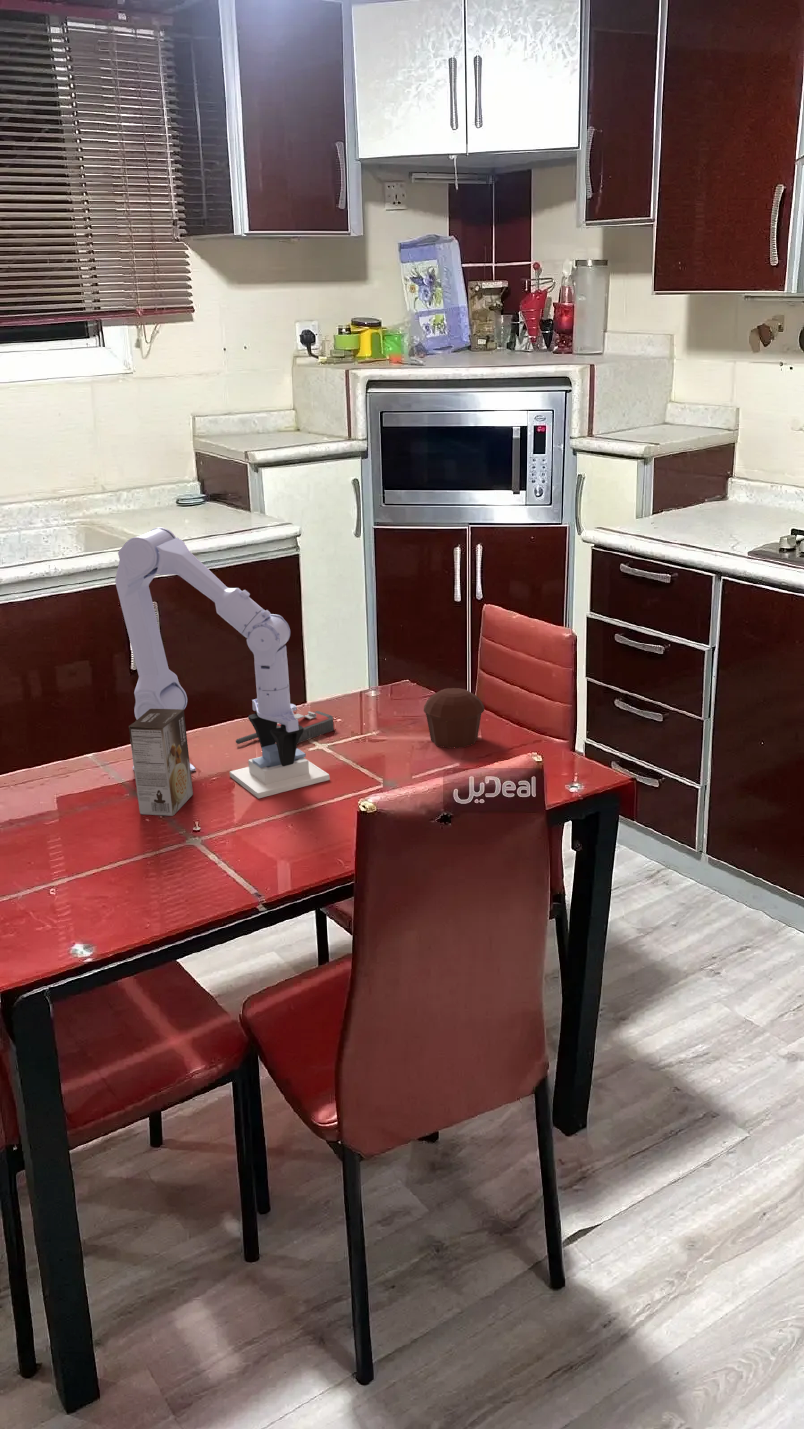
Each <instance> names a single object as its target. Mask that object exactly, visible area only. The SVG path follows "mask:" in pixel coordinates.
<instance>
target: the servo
mask: <svg viewBox="0 0 804 1429" xmlns="http://www.w3.org/2000/svg"><path fill="white" fill-rule="evenodd" d="M261 753H262V754H261V756H262V757H261V756H259V757H260V758H257V757H255V758H256V759H253V758H251V759H252V762H253V763H254V764H255V765H257V766H258V767H259V768H262V767H267V768H269V767H273V766H277V765H281V762H280V759H279V753H278V748H277V745H276V744H273V745H269V746H265V747H262V748H261ZM303 757H304V758H306V757H307V756H306V752H303V751H302V750H301V749H299V748H298V747H297V748H296V753H295V759H294V761H296V759H299V758H303Z"/></svg>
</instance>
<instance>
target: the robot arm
mask: <svg viewBox="0 0 804 1429" xmlns="http://www.w3.org/2000/svg"><path fill="white" fill-rule="evenodd" d="M117 555H118V559H119V561H118V566H117V570H116V574H115V586H116V590H117V594H118V599H119V602H120V607H121V611H122V615H123V619H124V623H125V626H126V627H125V628H126V629H127V630H126V631H127V634H128V637H129V638H128V639H129V643H130V647H131V651H132V654H133V659H134V662H135V666H136V671H137V674H138V679H137V683H136V686H135V688H134V692H133V694H134V699H135V703H134V707H133V709H134V717H135V719H136V720H137V719H139V718H140V717H141V716H142V715H143V714H145V713H146V712H147V711H148V710H149V709H184V710H185V709H186V707H187V705H188V696H187V693H186V691H185V689H184V688H183V687H182V686H181V683H180V682H179V681H180V680H179V679H178V675H177V674H176V673H175V672H173V671H172V670H171V669H169V668H170V667H169V666H168V665H169V664H168V660H167V657H166V652H165V648H164V644H163V639H162V635H161V631H160V626H159V623H158V620H157V615H156V610H155V606H154V602H153V599H152V594H151V589H150V587H149V586H150V584H151V582H152V581H153V580H154V578H155V577H156V575H167V576H168V575H174V576H176V575H177V576H178V577H180V578H182V580H184V581H186V582H187V583H188V584H190V585H191V586H192V587H194V589H196V590H197V591H199V592H200V593H201V594H203V595H204V596H206V597H207V598H208V599H210V600H211V601H212V602H213V603H214V606H215V611H216V614H217V615H219V616H220V618H222V619H223V620H224V621H225V622H227V623H228V624H229V625H230V626H232V628H233V629H235V630H236V631H238V633H239V634H241V636H243V637H245V639H246V645H247V646H248V648H249V650H250V652H252V654H253V658H254V659H253V660H254V662H253V663H254V674H255V686H256V698H255V699H251V701H252V702H251V703H252V710H253V711H254V713H252V714H249V715H248V716H247V719H248V720H249V723H251V725H252V727H253V729H254V730H255V733H257V736H258V738H257V739H258V743H259V745H260V748H261V749H262V747H265V746H269V745H273V744H276V745H277V748H278V753H279V759H280V762H281V765H282V766H287V765H291V764H293V763H294V759H295V753H296V749H297V748H298V744H299V743H298V741H299V739H300V737H301V735H302V733H303V731H304V728H303V727H302V726H300V725H298V720H297V719H296V718H295V716H294V715H295V713H294V711H297V709H298V707H297V705H296V704H294V703H291V694H290V680H289V679H290V678H289V665H288V655H287V654H288V652H287V645H286V644H287V642H289V640H290V637H291V629H290V625H289V623H288V622H287V621H286V620H285V619H284V617H283V616H282V615H280V614H276V613H275V614H274V613H271V612H270V611H269V609H266V610H265V609H264V608H263V607H261V606H260V605H259V604H258V603H257V602H256V601H254V600H253V599H252V598H251V597H250V595H251V593H250V592H249V591H248V590H246V589H243V590H241V588H239V587H228V586H226V584H224V583H223V581H221V579H220V578H218V577H217V576H216V574H214V573H213V572H212V571H211V570H210V569H209V568H208V567H207V566H206V565H205V564H204V563H203V562H202V561H201V560H199V559H198V558H197V557H196V556H195V555H194V554H193V553H192V552H191V551H190V550H189V548H188V547H187V544H185V541H184V540H182V539H180V538H179V537H177V536H176V534H174V533H173V532H172V531H171V530H170V529H168V528H166V527H162V526H161V527H155V528H153V529H151V530H150V531H148V532H145V533H142V534H141V535H138V536H133V537H131V538H129V539H128V540H127V541H126V542H125V543H124V544H123V545H122V546H121V547H120V549H119V550H118V552H117ZM277 723H279V724H281V728H277ZM129 740H130V739H129ZM130 742H131V740H130ZM130 748H131V747H130ZM131 750H132V748H131ZM131 756H132V755H131ZM131 758H132V759H133V756H132V757H131ZM132 764H133V763H132ZM196 769H197V768H196V767H195V766H194V765H193V764H192V763H190V771H191V772H194V771H196ZM132 770H133V771H134V764H133V766H132Z"/></svg>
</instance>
